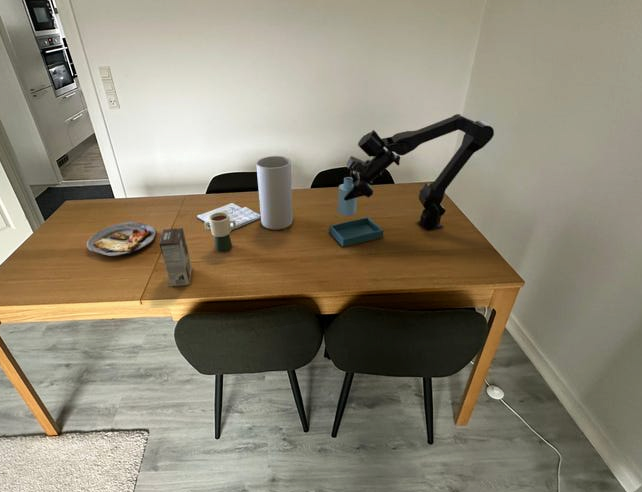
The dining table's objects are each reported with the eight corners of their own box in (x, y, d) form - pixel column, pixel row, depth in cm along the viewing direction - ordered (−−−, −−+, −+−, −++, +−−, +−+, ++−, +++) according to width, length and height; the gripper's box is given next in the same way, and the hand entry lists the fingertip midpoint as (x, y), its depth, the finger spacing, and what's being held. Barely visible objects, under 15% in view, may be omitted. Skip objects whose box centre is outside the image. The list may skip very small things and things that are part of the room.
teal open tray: (366, 223, 145) (367, 217, 144) (382, 237, 137) (383, 230, 135) (329, 232, 142) (329, 225, 140) (342, 246, 133) (343, 239, 131)
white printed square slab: (222, 235, 145) (222, 230, 143) (196, 217, 158) (195, 213, 157) (261, 218, 154) (261, 214, 153) (234, 203, 167) (233, 199, 166)
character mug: (239, 242, 140) (235, 210, 132) (238, 252, 134) (233, 220, 126) (210, 243, 140) (204, 212, 133) (207, 254, 134) (201, 222, 127)
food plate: (168, 233, 149) (166, 225, 146) (127, 265, 132) (124, 256, 130) (121, 223, 158) (118, 215, 156) (76, 251, 141) (73, 244, 139)
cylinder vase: (256, 228, 148) (250, 166, 134) (268, 213, 157) (264, 155, 143) (286, 232, 144) (283, 169, 129) (296, 217, 153) (295, 157, 139)
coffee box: (173, 270, 127) (162, 228, 118) (192, 268, 127) (183, 227, 118) (169, 287, 120) (158, 244, 111) (190, 285, 120) (180, 242, 111)
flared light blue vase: (350, 206, 143) (352, 174, 136) (358, 213, 138) (361, 180, 131) (335, 210, 142) (336, 177, 135) (342, 217, 137) (344, 183, 129)
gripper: (358, 140, 134) (326, 171, 141) (365, 158, 119) (329, 192, 126) (379, 161, 138) (347, 190, 145) (388, 181, 123) (352, 212, 130)
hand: (343, 195), depth 137 cm, fingers closed on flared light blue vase, 6 cm apart
